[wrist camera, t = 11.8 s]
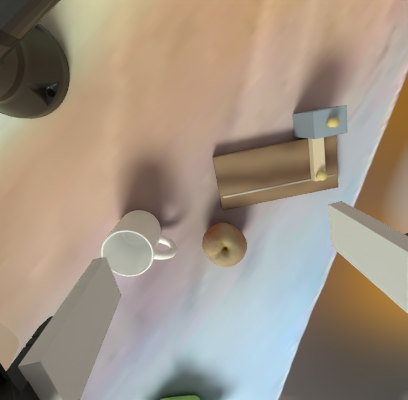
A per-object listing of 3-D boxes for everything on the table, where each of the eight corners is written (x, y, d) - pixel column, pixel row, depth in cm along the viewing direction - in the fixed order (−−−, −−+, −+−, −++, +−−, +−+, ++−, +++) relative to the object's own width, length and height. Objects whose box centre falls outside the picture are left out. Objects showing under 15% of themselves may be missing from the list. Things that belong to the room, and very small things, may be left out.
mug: (184, 220, 49) (182, 243, 40) (173, 255, 52) (168, 286, 42) (124, 203, 48) (106, 224, 38) (115, 241, 50) (96, 270, 40)
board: (212, 156, 46) (213, 157, 44) (330, 132, 46) (336, 132, 44) (221, 206, 49) (222, 210, 47) (332, 184, 49) (338, 187, 47)
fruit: (231, 210, 49) (237, 225, 42) (247, 242, 51) (257, 262, 44) (195, 227, 50) (195, 246, 42) (213, 259, 52) (216, 281, 45)
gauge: (292, 114, 45) (317, 111, 36) (320, 108, 44) (351, 104, 36) (298, 178, 48) (321, 190, 39) (323, 173, 48) (353, 184, 39)
